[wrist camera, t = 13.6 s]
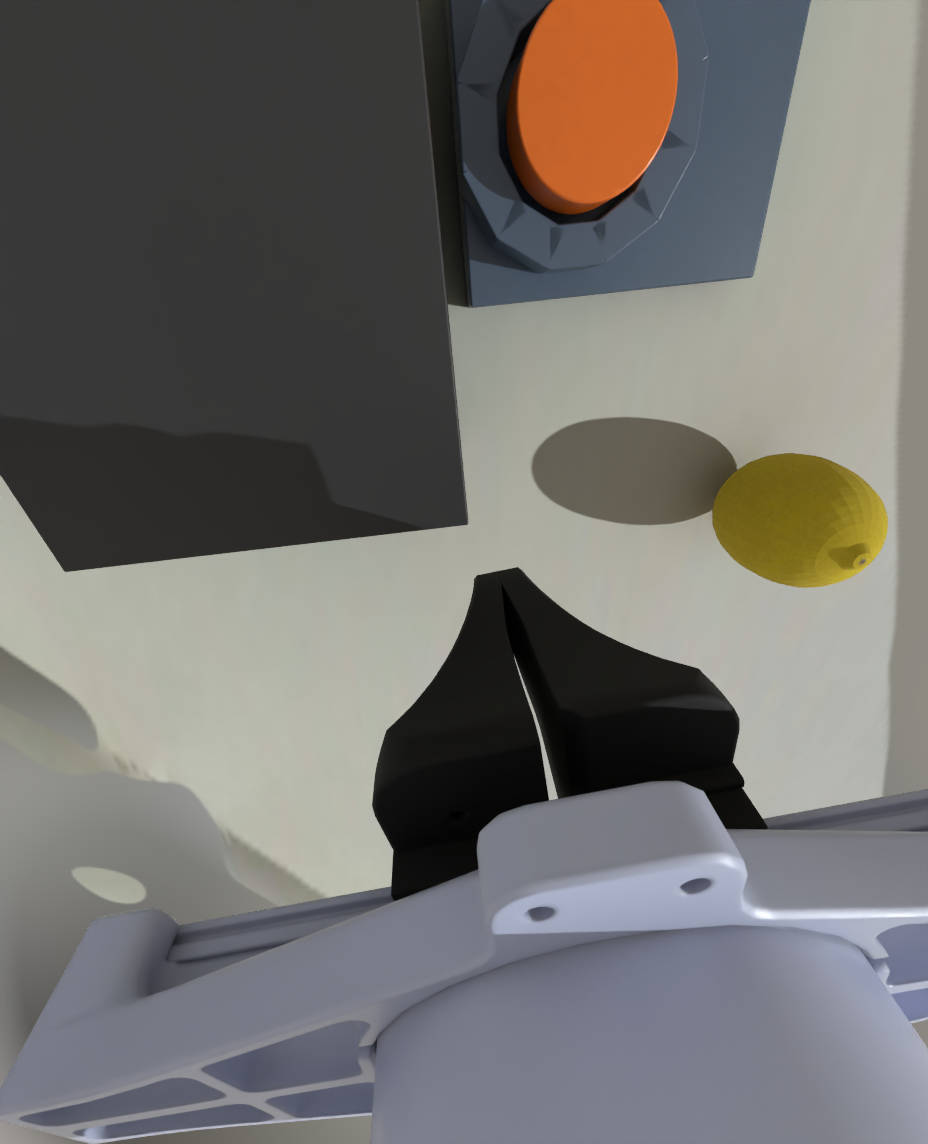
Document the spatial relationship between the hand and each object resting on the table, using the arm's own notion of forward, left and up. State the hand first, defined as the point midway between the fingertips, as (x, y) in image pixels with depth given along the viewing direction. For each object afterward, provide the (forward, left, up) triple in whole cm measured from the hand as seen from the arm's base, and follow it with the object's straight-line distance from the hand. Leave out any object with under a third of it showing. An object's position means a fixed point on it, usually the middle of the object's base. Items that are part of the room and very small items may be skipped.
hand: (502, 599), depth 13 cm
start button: (+4, +12, -7) cm, 15 cm away
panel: (+6, +12, -10) cm, 17 cm away
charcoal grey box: (-7, +9, -10) cm, 15 cm away
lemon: (+14, -2, -11) cm, 18 cm away
